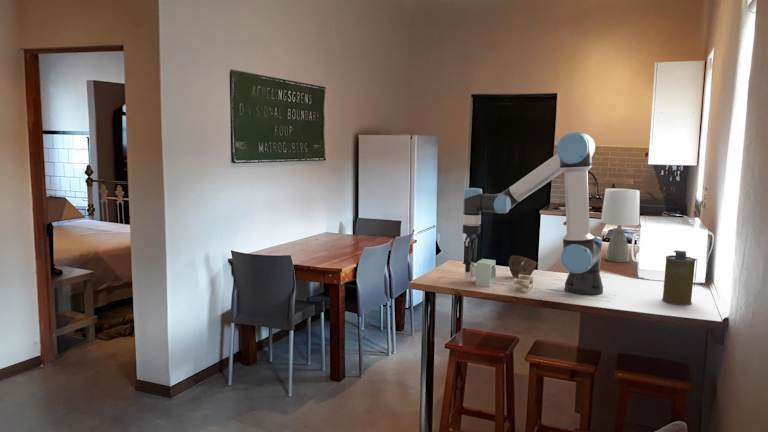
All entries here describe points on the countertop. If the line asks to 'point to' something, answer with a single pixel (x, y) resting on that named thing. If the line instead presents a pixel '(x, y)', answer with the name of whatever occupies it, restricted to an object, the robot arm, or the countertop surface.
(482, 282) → the pale green block
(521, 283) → the cradle
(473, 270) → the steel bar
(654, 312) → the countertop surface
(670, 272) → the canister
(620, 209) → the lamp
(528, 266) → the rock
